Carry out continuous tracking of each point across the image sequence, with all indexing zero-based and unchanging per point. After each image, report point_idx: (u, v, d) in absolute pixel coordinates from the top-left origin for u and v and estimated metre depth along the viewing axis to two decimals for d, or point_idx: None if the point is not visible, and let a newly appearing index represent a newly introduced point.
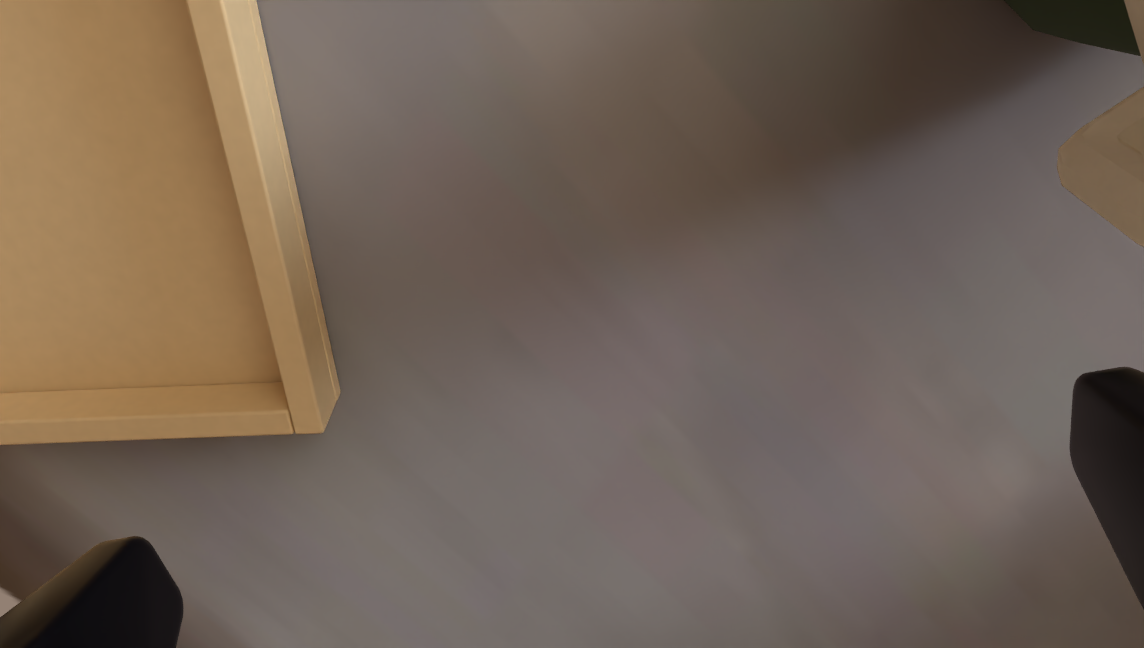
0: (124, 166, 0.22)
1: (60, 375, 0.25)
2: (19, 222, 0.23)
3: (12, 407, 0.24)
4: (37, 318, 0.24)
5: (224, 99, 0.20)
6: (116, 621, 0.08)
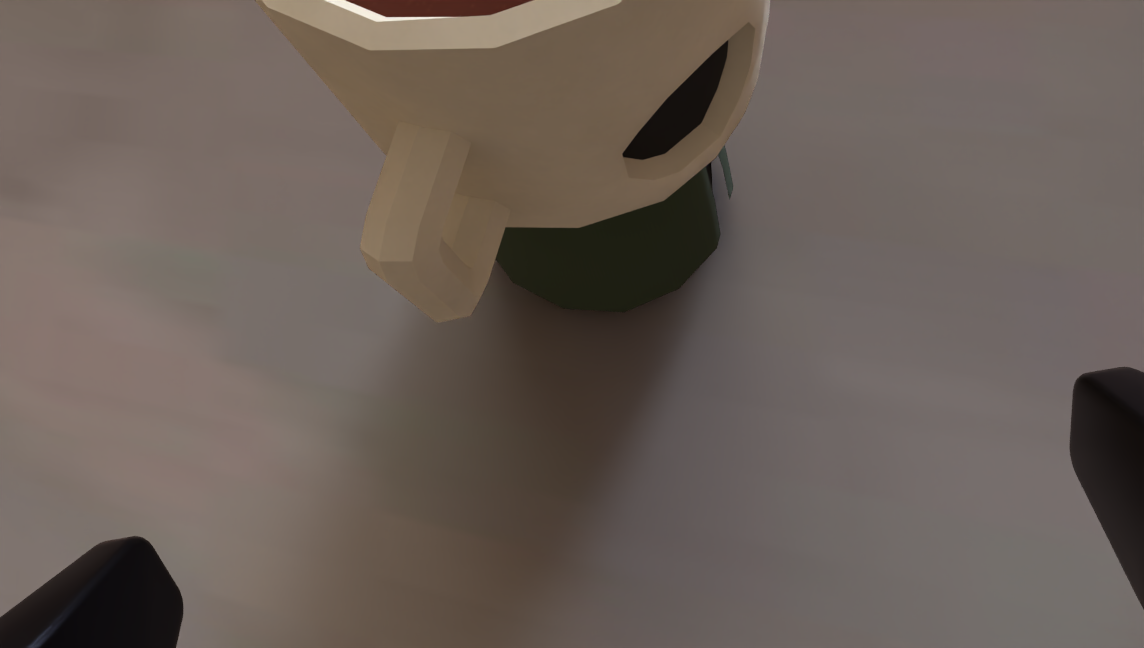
0: None
1: None
2: None
3: None
4: None
5: None
6: (116, 621, 0.08)
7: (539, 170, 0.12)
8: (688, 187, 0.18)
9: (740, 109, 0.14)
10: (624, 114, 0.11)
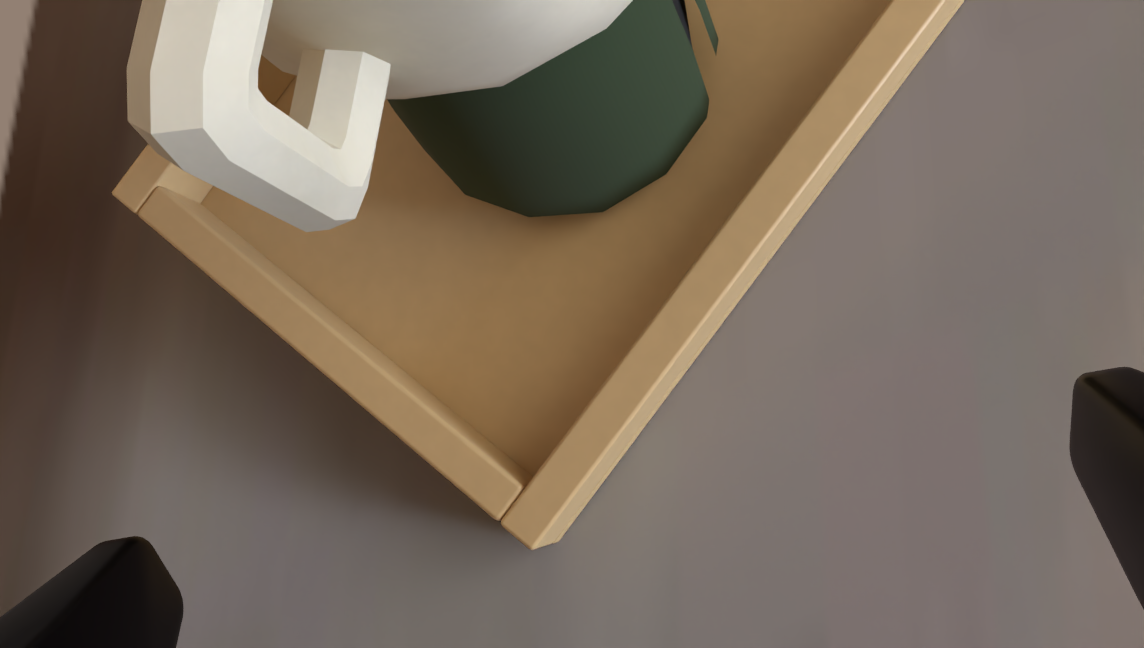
0: None
1: (316, 269, 0.19)
2: None
3: (247, 250, 0.19)
4: (366, 201, 0.19)
5: (820, 123, 0.16)
6: (116, 621, 0.08)
7: None
8: (654, 30, 0.14)
9: None
10: None
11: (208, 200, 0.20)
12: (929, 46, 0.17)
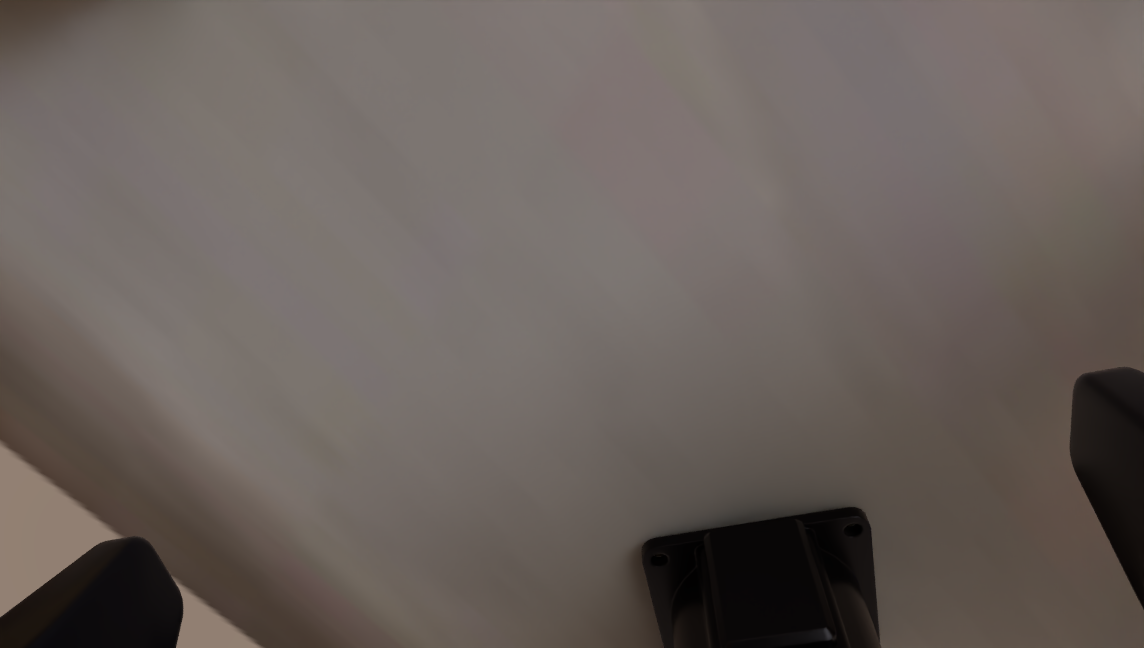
0: None
1: None
2: None
3: None
4: None
5: None
6: (116, 621, 0.08)
7: None
8: None
9: None
10: None
11: None
12: None
